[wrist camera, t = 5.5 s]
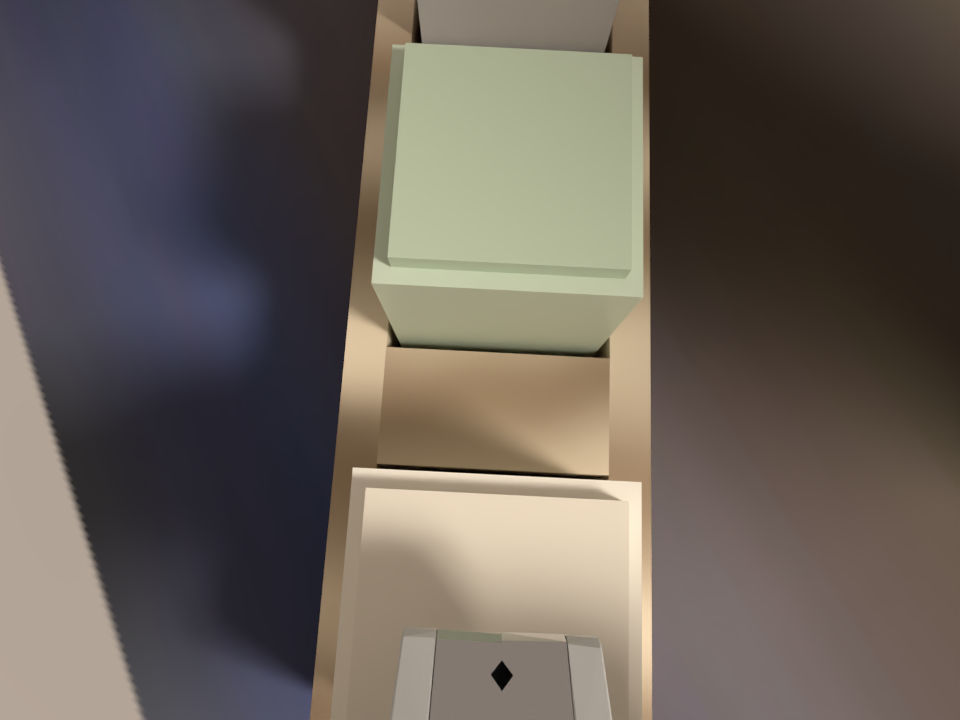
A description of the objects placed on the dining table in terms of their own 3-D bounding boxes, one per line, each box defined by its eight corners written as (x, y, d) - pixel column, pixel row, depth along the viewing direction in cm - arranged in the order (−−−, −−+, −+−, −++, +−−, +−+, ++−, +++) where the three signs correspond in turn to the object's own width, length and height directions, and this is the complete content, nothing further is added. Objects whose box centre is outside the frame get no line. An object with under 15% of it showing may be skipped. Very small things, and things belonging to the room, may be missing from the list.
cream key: (583, 699, 19) (650, 821, 12) (374, 688, 19) (316, 803, 12) (587, 486, 20) (649, 481, 13) (390, 476, 20) (346, 466, 13)
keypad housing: (611, 718, 22) (652, 782, 17) (343, 704, 22) (305, 765, 17) (617, -24, 28) (648, -135, 23) (406, -34, 28) (392, -148, 23)
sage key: (590, 358, 21) (650, 288, 14) (402, 348, 21) (366, 273, 14) (593, 184, 22) (649, 40, 15) (415, 175, 22) (389, 26, 15)
